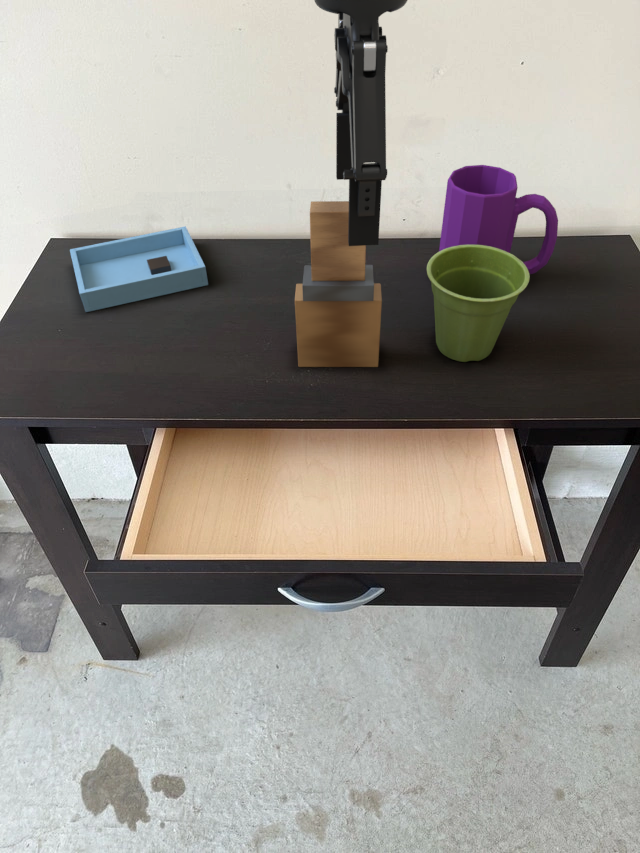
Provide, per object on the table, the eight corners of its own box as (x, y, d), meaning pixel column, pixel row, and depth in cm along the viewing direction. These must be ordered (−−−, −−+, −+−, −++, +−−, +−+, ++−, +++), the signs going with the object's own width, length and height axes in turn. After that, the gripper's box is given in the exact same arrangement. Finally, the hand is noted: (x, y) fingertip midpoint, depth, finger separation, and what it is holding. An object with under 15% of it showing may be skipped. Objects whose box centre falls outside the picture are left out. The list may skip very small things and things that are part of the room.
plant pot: (411, 368, 82) (419, 291, 74) (426, 313, 90) (434, 239, 82) (508, 383, 80) (527, 306, 72) (514, 325, 88) (531, 250, 80)
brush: (302, 301, 75) (299, 216, 68) (304, 280, 78) (301, 197, 72) (373, 301, 74) (376, 215, 68) (372, 280, 78) (375, 197, 72)
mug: (436, 260, 99) (447, 162, 89) (541, 266, 98) (566, 167, 87) (435, 295, 93) (448, 194, 82) (548, 301, 91) (576, 199, 81)
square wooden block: (298, 367, 83) (294, 300, 75) (299, 349, 85) (296, 283, 78) (378, 367, 82) (381, 300, 75) (377, 349, 85) (380, 283, 78)
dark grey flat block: (151, 275, 97) (150, 269, 96) (147, 265, 99) (146, 259, 98) (171, 271, 98) (170, 265, 97) (167, 261, 100) (166, 255, 99)
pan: (85, 312, 92) (79, 293, 90) (75, 267, 100) (69, 249, 98) (208, 285, 96) (205, 266, 94) (188, 244, 104) (185, 226, 102)
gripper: (443, -18, 41) (413, 275, 56) (389, -84, 59) (377, 153, 74) (323, -14, 41) (326, 279, 56) (305, -81, 58) (311, 156, 74)
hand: (355, 208), depth 65 cm, fingers open, 13 cm apart
